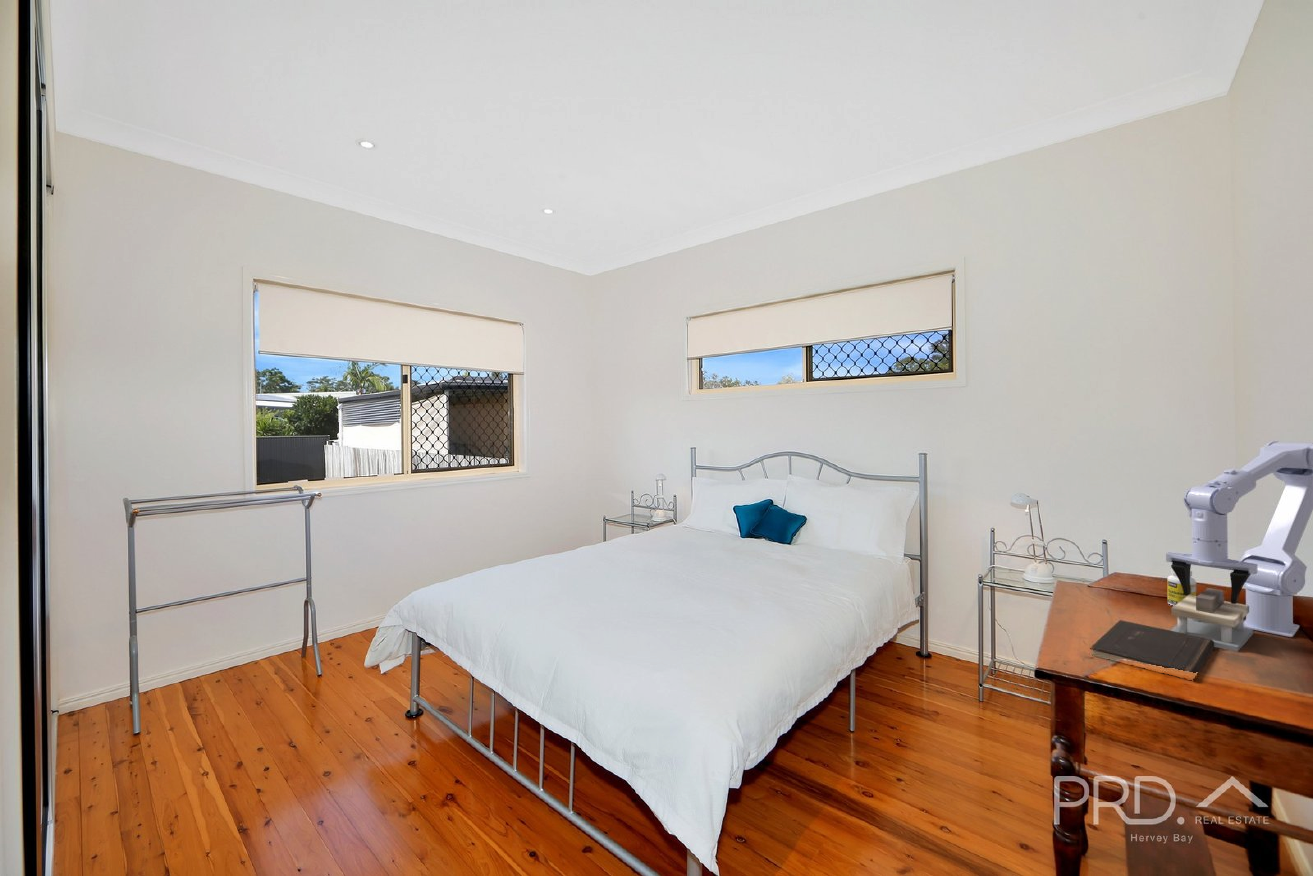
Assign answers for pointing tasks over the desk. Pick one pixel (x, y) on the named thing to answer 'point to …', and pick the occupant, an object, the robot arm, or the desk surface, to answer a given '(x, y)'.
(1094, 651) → the hardcover book
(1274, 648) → the desk surface
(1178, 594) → the supplement bottle
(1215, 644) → the peg stand
